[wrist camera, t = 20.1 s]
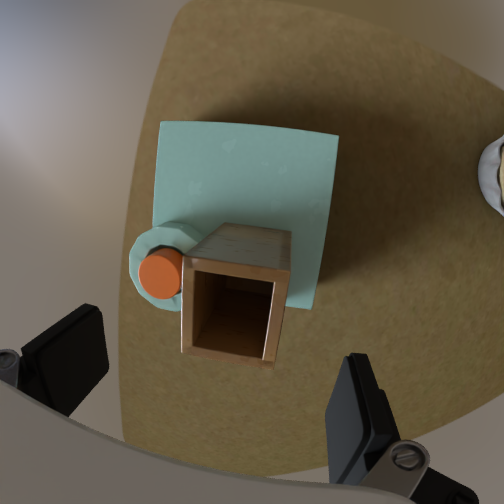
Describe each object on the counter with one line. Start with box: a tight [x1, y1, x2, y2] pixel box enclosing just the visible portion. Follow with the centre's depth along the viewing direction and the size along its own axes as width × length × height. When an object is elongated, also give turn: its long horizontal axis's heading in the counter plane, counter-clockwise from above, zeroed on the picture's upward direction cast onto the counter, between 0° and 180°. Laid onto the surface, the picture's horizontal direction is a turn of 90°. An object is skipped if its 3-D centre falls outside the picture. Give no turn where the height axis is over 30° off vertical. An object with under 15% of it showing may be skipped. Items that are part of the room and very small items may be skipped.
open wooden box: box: [181, 222, 292, 370], centre depth 17 cm, size 5×4×8 cm
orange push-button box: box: [129, 121, 339, 312], centre depth 21 cm, size 13×13×6 cm
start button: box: [138, 248, 183, 299], centre depth 19 cm, size 3×3×2 cm
